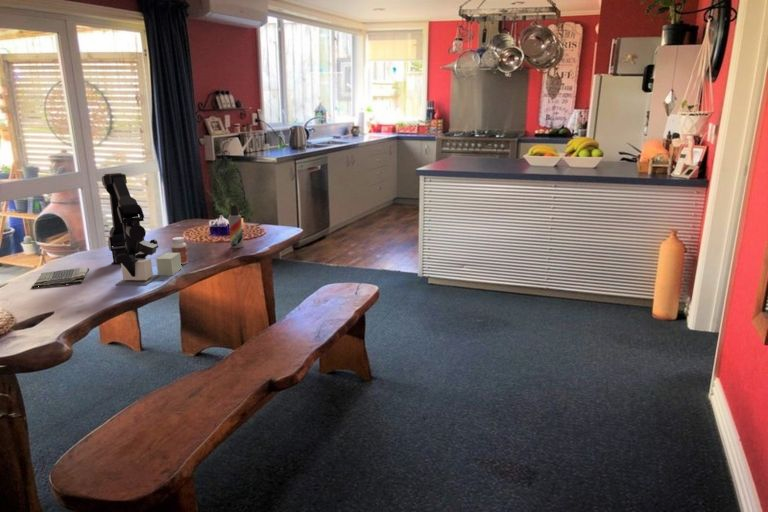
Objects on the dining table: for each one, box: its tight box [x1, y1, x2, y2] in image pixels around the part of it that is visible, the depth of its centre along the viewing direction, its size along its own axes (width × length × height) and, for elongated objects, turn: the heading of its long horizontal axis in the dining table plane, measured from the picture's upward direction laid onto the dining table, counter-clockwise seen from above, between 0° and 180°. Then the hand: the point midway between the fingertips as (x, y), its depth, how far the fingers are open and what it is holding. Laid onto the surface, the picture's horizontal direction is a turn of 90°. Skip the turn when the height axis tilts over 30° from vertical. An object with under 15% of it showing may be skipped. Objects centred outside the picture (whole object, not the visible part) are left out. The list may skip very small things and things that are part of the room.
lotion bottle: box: [228, 205, 244, 249], centre depth 265 cm, size 6×6×20 cm
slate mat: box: [115, 274, 161, 286], centre depth 219 cm, size 12×12×1 cm
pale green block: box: [156, 252, 183, 277], centre depth 228 cm, size 9×6×7 cm, turn 177°
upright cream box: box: [120, 257, 154, 280], centre depth 218 cm, size 9×6×7 cm, turn 87°
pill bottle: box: [170, 236, 189, 265], centre depth 240 cm, size 6×6×11 cm
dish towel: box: [31, 267, 90, 289], centre depth 221 cm, size 19×18×3 cm
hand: (137, 274), depth 218 cm, fingers closed on upright cream box, 6 cm apart
